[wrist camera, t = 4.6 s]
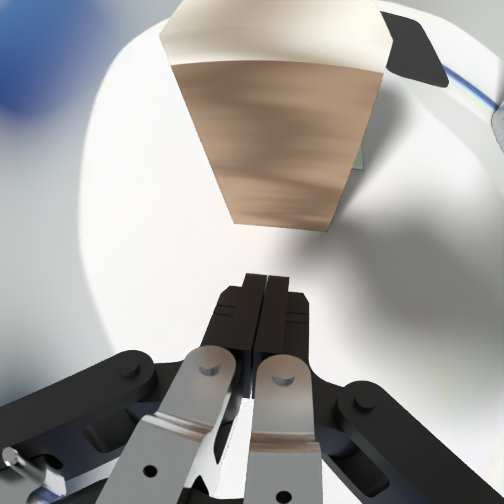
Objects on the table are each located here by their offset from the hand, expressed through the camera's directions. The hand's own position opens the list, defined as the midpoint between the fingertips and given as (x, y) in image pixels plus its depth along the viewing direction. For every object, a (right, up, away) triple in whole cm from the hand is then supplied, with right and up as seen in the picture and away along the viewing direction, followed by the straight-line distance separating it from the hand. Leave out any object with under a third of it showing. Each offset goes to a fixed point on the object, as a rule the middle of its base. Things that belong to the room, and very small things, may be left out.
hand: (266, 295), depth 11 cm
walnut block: (+2, +5, +9) cm, 10 cm away
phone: (+17, +25, +14) cm, 34 cm away
